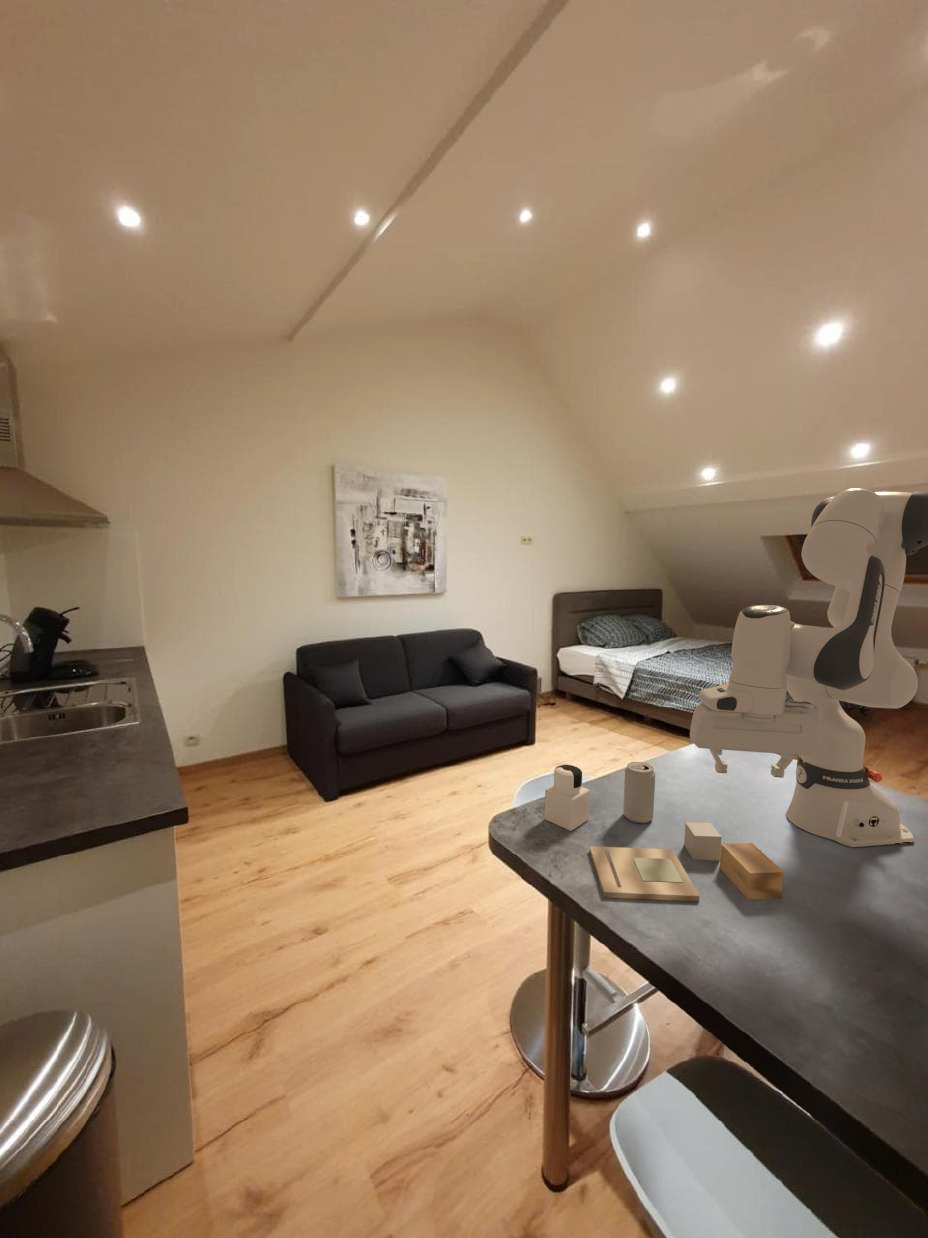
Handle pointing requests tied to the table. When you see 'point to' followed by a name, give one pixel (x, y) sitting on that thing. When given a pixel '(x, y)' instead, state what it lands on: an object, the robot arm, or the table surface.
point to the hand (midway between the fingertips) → (748, 774)
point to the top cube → (702, 841)
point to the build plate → (642, 874)
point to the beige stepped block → (567, 798)
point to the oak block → (751, 871)
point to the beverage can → (639, 792)
